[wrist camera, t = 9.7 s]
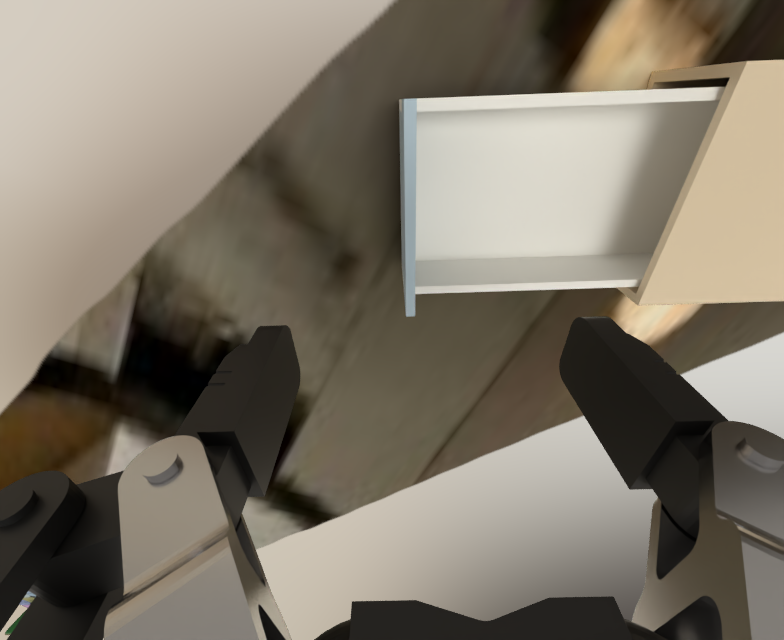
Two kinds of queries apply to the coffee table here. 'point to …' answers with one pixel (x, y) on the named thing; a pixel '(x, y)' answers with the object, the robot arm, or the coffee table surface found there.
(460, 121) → the inner tray
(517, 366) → the coffee table surface
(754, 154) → the sleeve
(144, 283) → the coffee table surface
